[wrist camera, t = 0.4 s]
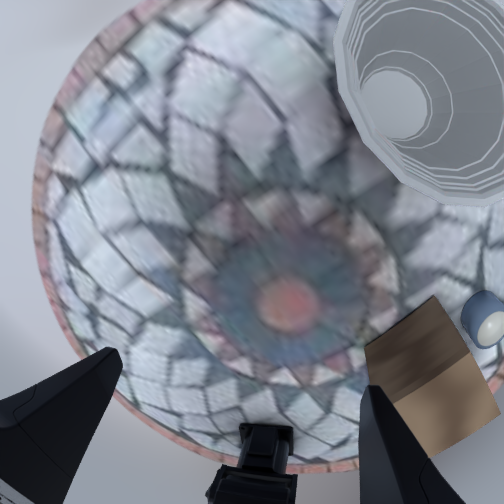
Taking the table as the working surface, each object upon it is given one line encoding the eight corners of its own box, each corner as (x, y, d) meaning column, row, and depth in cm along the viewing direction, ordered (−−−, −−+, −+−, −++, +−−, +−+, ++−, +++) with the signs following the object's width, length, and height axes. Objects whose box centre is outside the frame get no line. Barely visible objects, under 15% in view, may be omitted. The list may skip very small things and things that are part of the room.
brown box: (414, 401, 27) (428, 458, 19) (363, 347, 25) (374, 413, 18) (473, 360, 24) (500, 413, 16) (434, 295, 22) (470, 351, 15)
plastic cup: (294, 125, 21) (277, 101, 9) (361, 17, 16) (395, -71, 5) (413, 204, 21) (493, 262, 10) (473, 99, 17) (571, 84, 5)
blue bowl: (490, 327, 22) (503, 346, 19) (456, 332, 23) (468, 352, 20) (500, 289, 21) (516, 305, 18) (466, 292, 22) (481, 310, 19)
